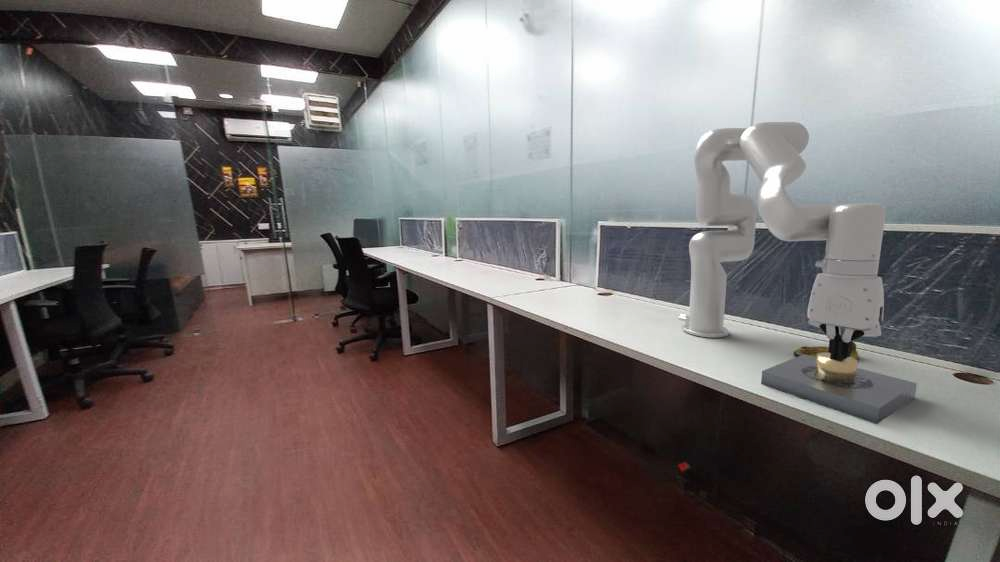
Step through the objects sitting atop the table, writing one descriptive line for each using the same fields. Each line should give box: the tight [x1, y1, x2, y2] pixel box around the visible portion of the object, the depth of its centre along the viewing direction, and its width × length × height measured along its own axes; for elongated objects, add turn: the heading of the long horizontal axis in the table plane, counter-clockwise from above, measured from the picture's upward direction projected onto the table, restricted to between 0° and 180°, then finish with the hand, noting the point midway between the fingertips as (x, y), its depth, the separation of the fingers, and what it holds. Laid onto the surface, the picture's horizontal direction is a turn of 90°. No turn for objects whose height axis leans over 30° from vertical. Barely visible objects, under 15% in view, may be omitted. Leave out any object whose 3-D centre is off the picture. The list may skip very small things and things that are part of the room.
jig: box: [760, 354, 918, 425], centre depth 73 cm, size 18×18×3 cm
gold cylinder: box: [815, 352, 859, 383], centre depth 72 cm, size 6×6×7 cm
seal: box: [793, 341, 859, 361], centre depth 90 cm, size 9×5×15 cm
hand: (838, 358), depth 72 cm, fingers closed
